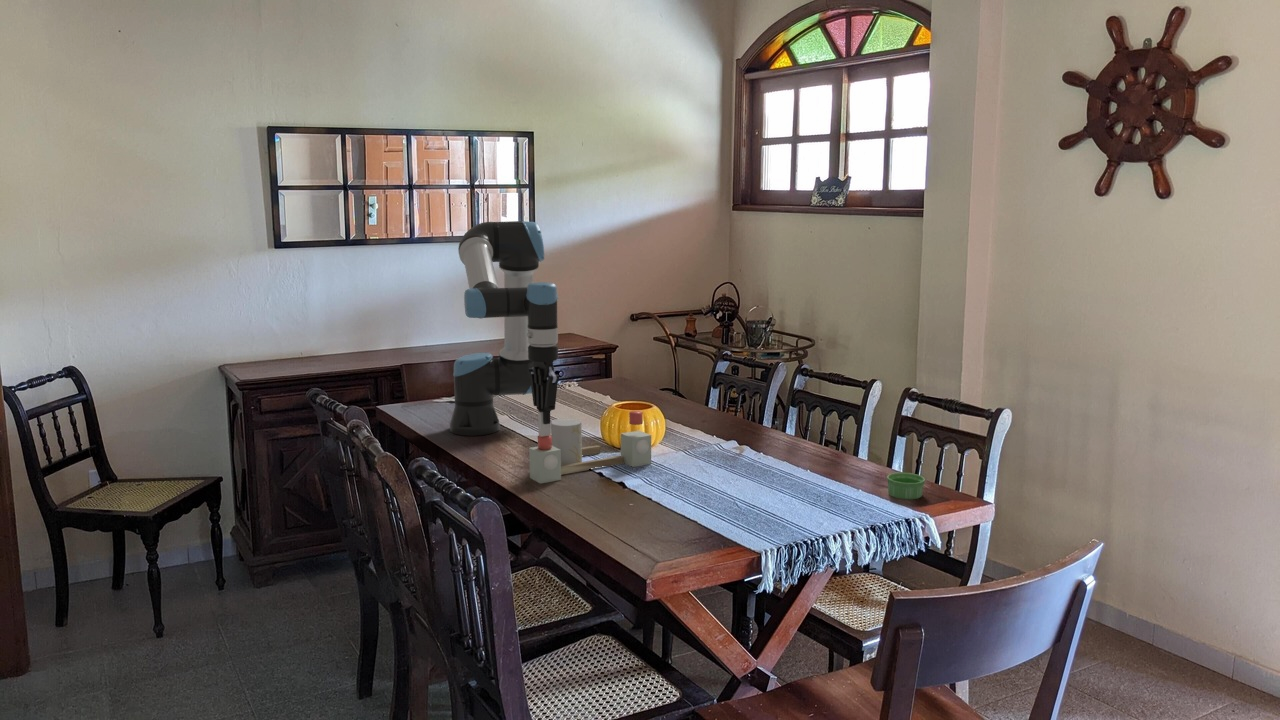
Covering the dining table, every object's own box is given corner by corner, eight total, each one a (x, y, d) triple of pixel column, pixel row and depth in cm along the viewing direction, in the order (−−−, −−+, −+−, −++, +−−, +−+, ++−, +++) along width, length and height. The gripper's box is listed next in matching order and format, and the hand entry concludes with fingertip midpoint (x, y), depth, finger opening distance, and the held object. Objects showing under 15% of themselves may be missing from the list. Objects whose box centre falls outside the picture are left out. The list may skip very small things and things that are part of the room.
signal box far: (620, 461, 274) (620, 433, 272) (639, 458, 277) (639, 430, 276) (633, 467, 269) (632, 438, 267) (651, 464, 272) (651, 435, 270)
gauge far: (626, 422, 272) (626, 411, 271) (638, 421, 273) (638, 410, 273) (633, 425, 269) (633, 414, 268) (645, 423, 270) (645, 412, 270)
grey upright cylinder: (577, 470, 266) (577, 426, 264) (548, 468, 268) (547, 424, 266) (585, 461, 274) (584, 419, 272) (556, 460, 276) (555, 417, 273)
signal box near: (529, 477, 260) (529, 447, 258) (550, 474, 263) (550, 444, 261) (540, 483, 254) (540, 453, 253) (561, 480, 257) (561, 449, 256)
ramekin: (882, 489, 250) (883, 472, 250) (919, 489, 250) (920, 472, 249) (890, 500, 242) (891, 483, 241) (928, 500, 241) (929, 483, 240)
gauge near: (535, 447, 258) (535, 435, 257) (547, 445, 260) (547, 433, 259) (541, 450, 255) (541, 438, 254) (554, 448, 257) (554, 436, 256)
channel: (537, 462, 274) (536, 455, 273) (597, 452, 284) (597, 445, 283) (560, 474, 262) (560, 467, 262) (623, 463, 272) (623, 456, 272)
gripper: (518, 342, 256) (520, 432, 260) (541, 349, 245) (542, 443, 249) (544, 339, 260) (546, 428, 264) (568, 346, 249) (569, 439, 253)
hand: (544, 435), depth 257 cm, fingers closed
